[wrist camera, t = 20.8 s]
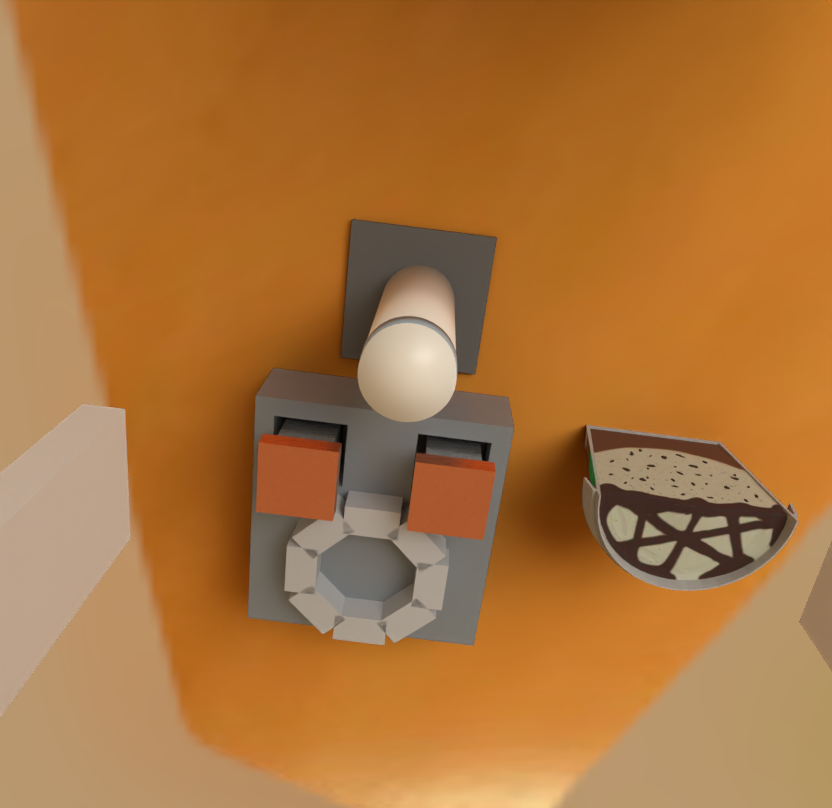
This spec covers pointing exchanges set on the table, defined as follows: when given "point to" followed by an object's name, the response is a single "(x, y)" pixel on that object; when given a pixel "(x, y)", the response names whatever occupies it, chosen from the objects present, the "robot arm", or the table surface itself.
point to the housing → (372, 521)
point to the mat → (404, 246)
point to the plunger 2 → (451, 489)
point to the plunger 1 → (300, 470)
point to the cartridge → (411, 347)
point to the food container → (679, 509)
